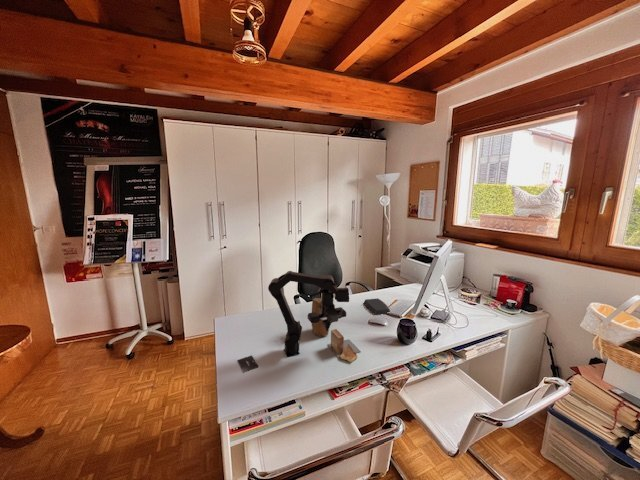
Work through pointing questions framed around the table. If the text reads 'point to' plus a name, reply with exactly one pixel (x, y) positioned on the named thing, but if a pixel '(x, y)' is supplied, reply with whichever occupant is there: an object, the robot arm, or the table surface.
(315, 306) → the brown oblong lump
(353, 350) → the mat
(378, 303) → the external hard drive
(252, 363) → the solid state drive
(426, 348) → the table surface
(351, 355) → the shard
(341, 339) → the slab
